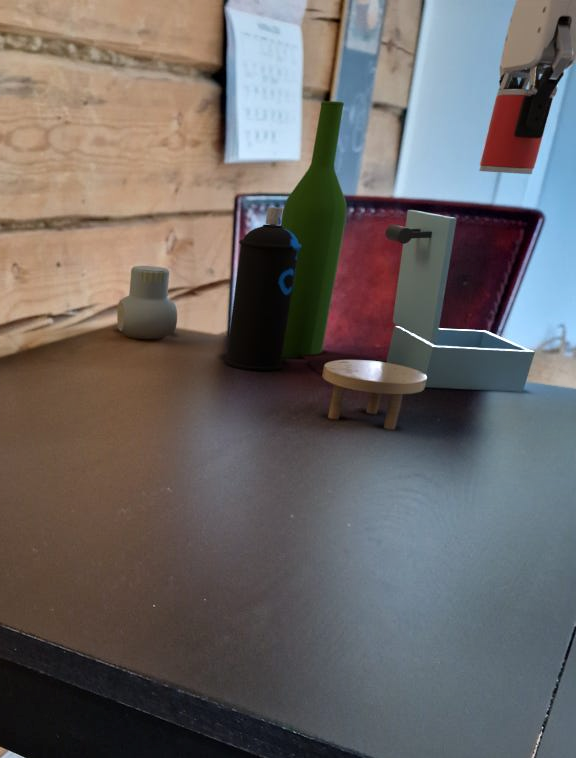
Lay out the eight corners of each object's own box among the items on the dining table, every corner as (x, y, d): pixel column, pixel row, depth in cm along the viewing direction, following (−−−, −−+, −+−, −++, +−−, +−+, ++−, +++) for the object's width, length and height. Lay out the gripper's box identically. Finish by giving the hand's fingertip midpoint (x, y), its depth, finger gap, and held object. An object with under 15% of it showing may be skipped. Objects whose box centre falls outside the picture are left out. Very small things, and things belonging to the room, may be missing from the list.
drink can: (518, 173, 107) (539, 94, 103) (541, 174, 102) (564, 91, 98) (470, 170, 107) (489, 90, 103) (491, 171, 102) (511, 87, 97)
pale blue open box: (475, 371, 126) (486, 330, 123) (521, 397, 113) (535, 351, 110) (385, 367, 125) (394, 325, 122) (421, 392, 113) (432, 346, 110)
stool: (394, 413, 102) (406, 362, 99) (428, 441, 93) (443, 385, 90) (303, 409, 101) (313, 357, 98) (329, 436, 92) (340, 380, 89)
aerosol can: (222, 368, 119) (243, 207, 109) (225, 356, 126) (244, 204, 116) (282, 373, 118) (308, 211, 108) (281, 361, 125) (305, 208, 115)
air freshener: (114, 328, 140) (118, 262, 135) (164, 330, 141) (170, 265, 136) (124, 342, 130) (129, 271, 125) (177, 344, 131) (184, 274, 126)
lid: (413, 209, 115) (375, 211, 115) (457, 217, 102) (414, 219, 102) (397, 322, 122) (362, 323, 122) (436, 342, 109) (397, 344, 109)
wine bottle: (330, 353, 132) (376, 105, 116) (306, 362, 125) (352, 100, 109) (278, 344, 136) (315, 103, 120) (252, 351, 130) (288, 98, 113)
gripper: (641, -67, 86) (581, 139, 95) (557, -35, 101) (512, 140, 110) (569, -72, 86) (515, 135, 95) (495, -40, 101) (455, 136, 110)
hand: (514, 136), depth 103 cm, fingers closed on drink can, 6 cm apart
